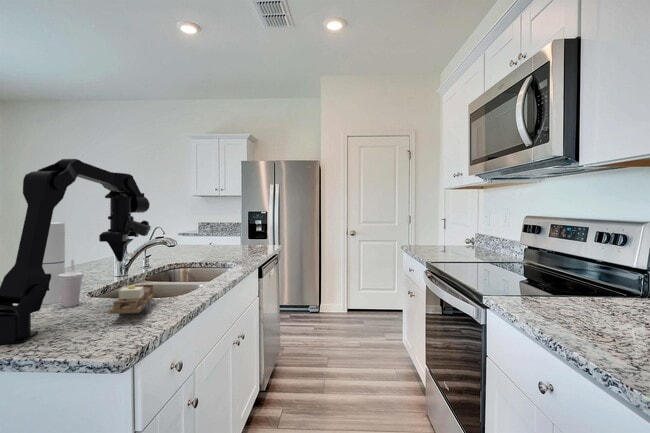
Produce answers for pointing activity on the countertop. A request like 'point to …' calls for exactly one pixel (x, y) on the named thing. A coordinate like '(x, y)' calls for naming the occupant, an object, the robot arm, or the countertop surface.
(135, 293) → the block
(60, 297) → the cylindrical container
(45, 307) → the countertop surface
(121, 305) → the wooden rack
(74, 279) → the smoothie
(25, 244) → the robot arm
